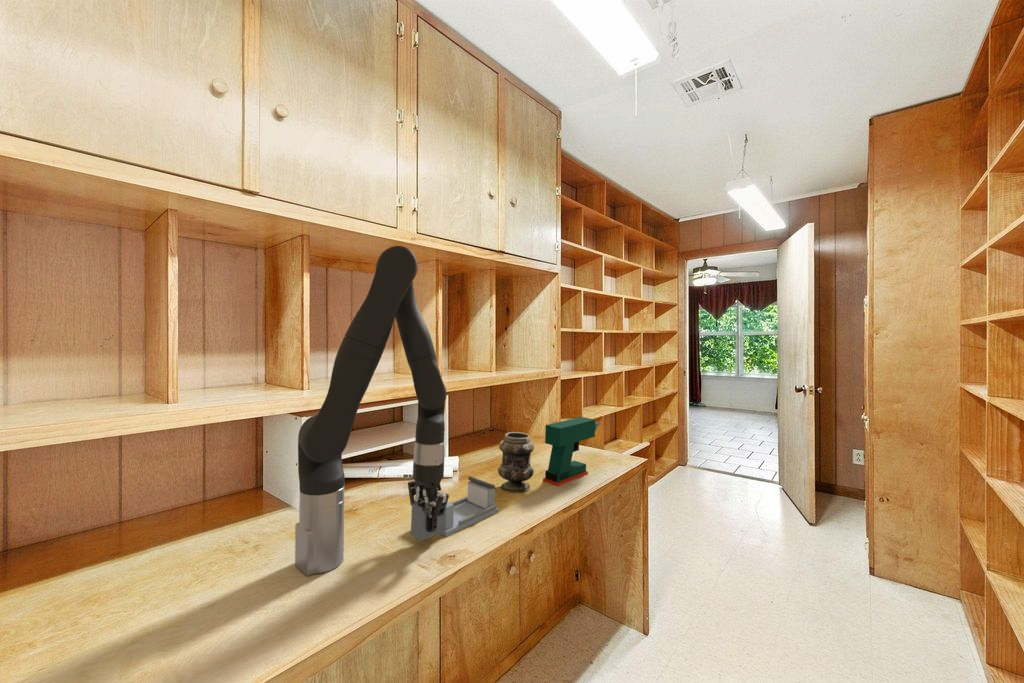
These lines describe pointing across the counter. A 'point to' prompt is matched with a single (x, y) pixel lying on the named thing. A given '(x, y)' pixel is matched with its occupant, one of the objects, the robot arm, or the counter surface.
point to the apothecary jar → (516, 462)
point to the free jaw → (481, 493)
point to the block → (422, 521)
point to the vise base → (463, 515)
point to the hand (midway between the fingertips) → (425, 527)
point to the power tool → (567, 448)
